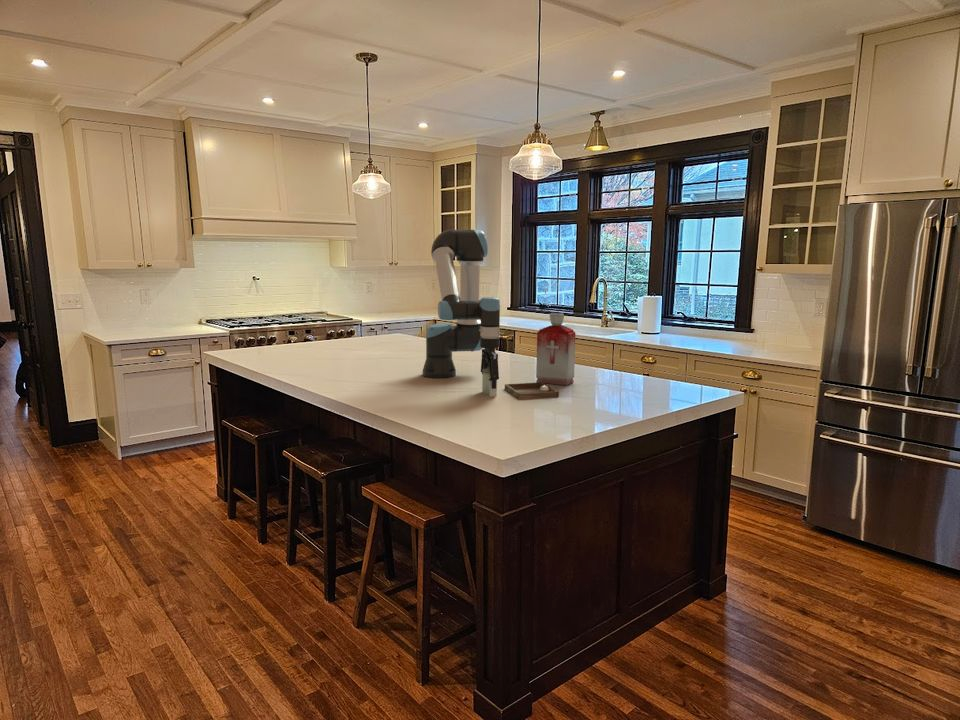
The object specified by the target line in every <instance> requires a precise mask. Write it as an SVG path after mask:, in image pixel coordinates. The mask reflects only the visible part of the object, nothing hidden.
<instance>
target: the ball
mask: <svg viewBox="0 0 960 720" xmlns="http://www.w3.org/2000/svg"><path fill="white" fill-rule="evenodd" d="M547 386H548V385H547ZM547 386H545V385H543V386H541V387H540V392H549V388H548V387H547Z"/></svg>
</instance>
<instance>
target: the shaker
mask: <svg viewBox="0 0 960 720" xmlns="http://www.w3.org/2000/svg"><path fill="white" fill-rule="evenodd" d="M482 372H483V391H482V395H483V396H487V397H488V396H489V395H490V381H489V379H490V371H489V367H487V368H483V371H482ZM482 372H481V373H482ZM494 377H495V376H494ZM489 397H490V396H489Z"/></svg>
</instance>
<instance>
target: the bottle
mask: <svg viewBox="0 0 960 720" xmlns="http://www.w3.org/2000/svg"><path fill="white" fill-rule="evenodd" d="M549 318H550V319H549V321H550V324H551V325H548V326H546V327H543V328H540V329H539V330H538V331H536V332H537V333H536V334H537V335H536V336H537V337H536V366H535V367H536V369H535V371H536V373H535V376H536V382H542V383H544V384H546V385H549V384H550V385H555V386H556V385H557V386H565V387H566V386H569V385H571V384H574V382H575V381H574V377H575V361H576V360H575V359H576V332H575V331H574V329H572V328H570V327H568V326H565V325H562V324H563V323H564V319H565V315H564V313H560V312H552V313H550V314H549ZM536 382H535V383H536Z"/></svg>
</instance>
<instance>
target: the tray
mask: <svg viewBox="0 0 960 720" xmlns="http://www.w3.org/2000/svg"><path fill="white" fill-rule="evenodd" d="M543 385H545V386H547V387H548V388H549V392H540V387H541V386H543ZM504 390H505V391H507V392H508V393H509V394H510V395H512V396H514V397H515V398H516V399H518V400H529V399H530V400H533V399H547V398H548V399H549V398H559V395H560V394H559V393H560V392H559V391H558V390H556V389H554V388H553V387H551V386H549V385H548V384H546V383H542V382H523V383H521V382H520V383H508V384H507V383H505V384H504Z"/></svg>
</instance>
